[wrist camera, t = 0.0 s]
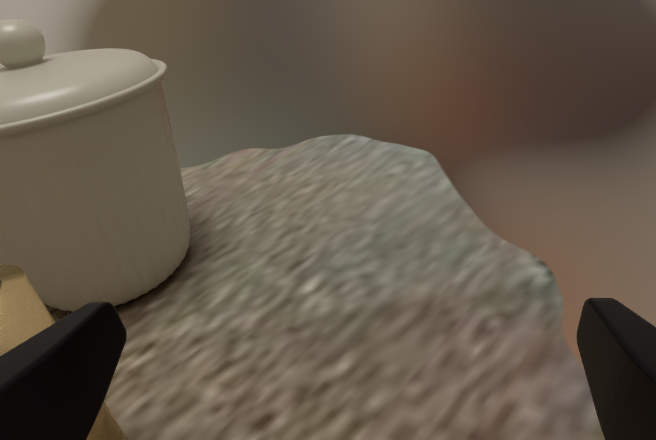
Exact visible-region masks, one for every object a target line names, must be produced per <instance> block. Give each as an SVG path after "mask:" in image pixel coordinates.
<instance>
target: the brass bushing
mask: <svg viewBox="0 0 656 440" xmlns="http://www.w3.org/2000/svg"><path fill="white" fill-rule="evenodd" d="M54 323H55V321H54V319H53V318H52V316H51V314H50V313H49V311H48V310H47V308H46V306H45V305H44V303H43V302H42V300H41V298H40V297H39V295H38V293H37V292H36V290H35V289H34V287H33V285H32V284H31V282H30V280H29V279H28V277H27V276H26V274H25V272H24V271H23V269H22V268H20V267H18V266H15V265H8V264H3V265H0V356H1V355H3V354H4V353H6V352H8V351H9V350H11V349H13V348H14V347H16V346H18V345H19V344H21V343H23V342H24V341H26V340H28V339H29V338H31V337H33V336H34V335H36V334H37V333H39V332H41V331H42V330H44V329H46V328H47V327H49V326H51V325H52V324H54ZM86 440H128V439H127V438H126V436H125V435H124V433H123V431H122V430H121V428H120V426H119V425H118V423H117V422H116V420H115V418H114V417H113V415H112V414H111V412H110V410H109V409H108V407H107V405H106V404H105V402H103V404H102V407H101V409H100V412H99V414H98V416H97V418H96V420H95V423H94V425H93V427H92V429H91V431H90V433H89V435H88V437H87V439H86Z"/></svg>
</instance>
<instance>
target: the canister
mask: <svg viewBox="0 0 656 440" xmlns="http://www.w3.org/2000/svg"><path fill="white" fill-rule="evenodd" d="M44 53H45V41H44V37H43V35H42V33H41V31H40V30H39V29H38V28H37V27H35V26H34V25H33V24H31V23H30V22H28V21H25V20H22V19H5V20H0V64H1V65H0V262H1V263H2V264H8V265H15V266H18V267H20V268H22V269H23V271H24V272H25V274H26V276H27V277H28V279H29V280H30V282H31V284H32V285H33V287H34V289H35V290H36V292H37V293H38V295H39V297H40V298H41V300H42V302H43V303H44V304H46V305H48V306H50V307H53V308H57V309H60V310H63V311H72V312H74V311H76V310H77V309H79V308H80V307H82V306H84V305H85V304H87V303H90V302H110V303H111V304H113V306H116V305H118V304H124V303H126V302H127V301H129V300H132V299H136V298H137V297H139V296H140V295H142V294H146V293H147V292H148V291H149V290H151V289H153V288H155V287H157V286H158V285H159V284H160V283H161V282H163V281H165V280H166V279H167V277H168V276H169V275H171V274H173V273H174V271H175V269H176V268H178V267H179V265H180V264H181V261H182V260H183V259H184V257H185V255H186V251H187V249H188V247H189V240H190V222H189V216H188V210H187V204H186V198H185V193H184V187H183V182H182V177H181V172H180V167H179V162H178V157H177V152H176V147H175V143H174V138H173V133H172V128H171V123H170V118H169V113H168V108H167V104H166V99H165V94H164V90H163V86H162V80H163V79H164V77H165V76H166V74H167V66H166V64H165V63H163V62H162V61H159V60H155V59H149V58H148V57H146V56H145V55H143V54H142V53H140V52H137V51H132V50H128V49H92V50H80V51H72V52H65V53H58V54H51V55H45V56H44Z"/></svg>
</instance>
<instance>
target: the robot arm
mask: <svg viewBox="0 0 656 440" xmlns="http://www.w3.org/2000/svg"><path fill="white" fill-rule="evenodd" d="M125 342H126V329H125V327H124V325H123V323H122V321H121V319H120V317H119V315H118V313H117V311H116V309H115V307H114V306H113V304H111V303H110V302H90V303H87V304H85V305H84V306H82V307H80V308H79V309H77V310H76V311H74V312H72V313H71V314H69V315H67V316H66V317H64V318H62V319H61V320H59V321H57V322H56V323H54V324H52V325H51V326H49V327H47V328H46V329H44V330H42V331H41V332H39V333H37V334H36V335H34V336H33V337H31V338H29V339H28V340H26V341H24V342H23V343H21V344H19V345H18V346H16V347H14V348H13V349H11V350H9V351H8V352H6V353H4V354H3V355H1V356H0V440H86V439H87V437H88V435H89V433H90V431H91V429H92V427H93V425H94V423H95V420H96V418H97V416H98V414H99V412H100V409H101V407H102V404H103V402H104V399H105V396H106V394H107V391H108V388H109V386H110V383H111V380H112V377H113V375H114V372H115V369H116V367H117V364H118V361H119V358H120V356H121V353H122V350H123V348H124V345H125ZM577 344H578V348H579V352H580V355H581V359H582V363H583V366H584V370H585V373H586V377H587V380H588V384H589V388H590V391H591V395H592V398H593V402H594V405H595V409H596V413H597V416H598V419H599V423H600V426H601V429H602V432H603V435H604V437H605V440H656V327H655V326H653V325H652V324H650V323H649V322H647V321H646V320H645V319H643V318H642V317H640V316H639V315H637V314H636V313H634V312H633V311H632V310H630V309H629V308H627V307H625V306H624V305H623V304H622V303H620V302H619V301H617V300H615V299H613V298H589V299H587V300H586V301H585V303H584V305H583V309H582V313H581V318H580V321H579V326H578V330H577Z"/></svg>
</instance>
